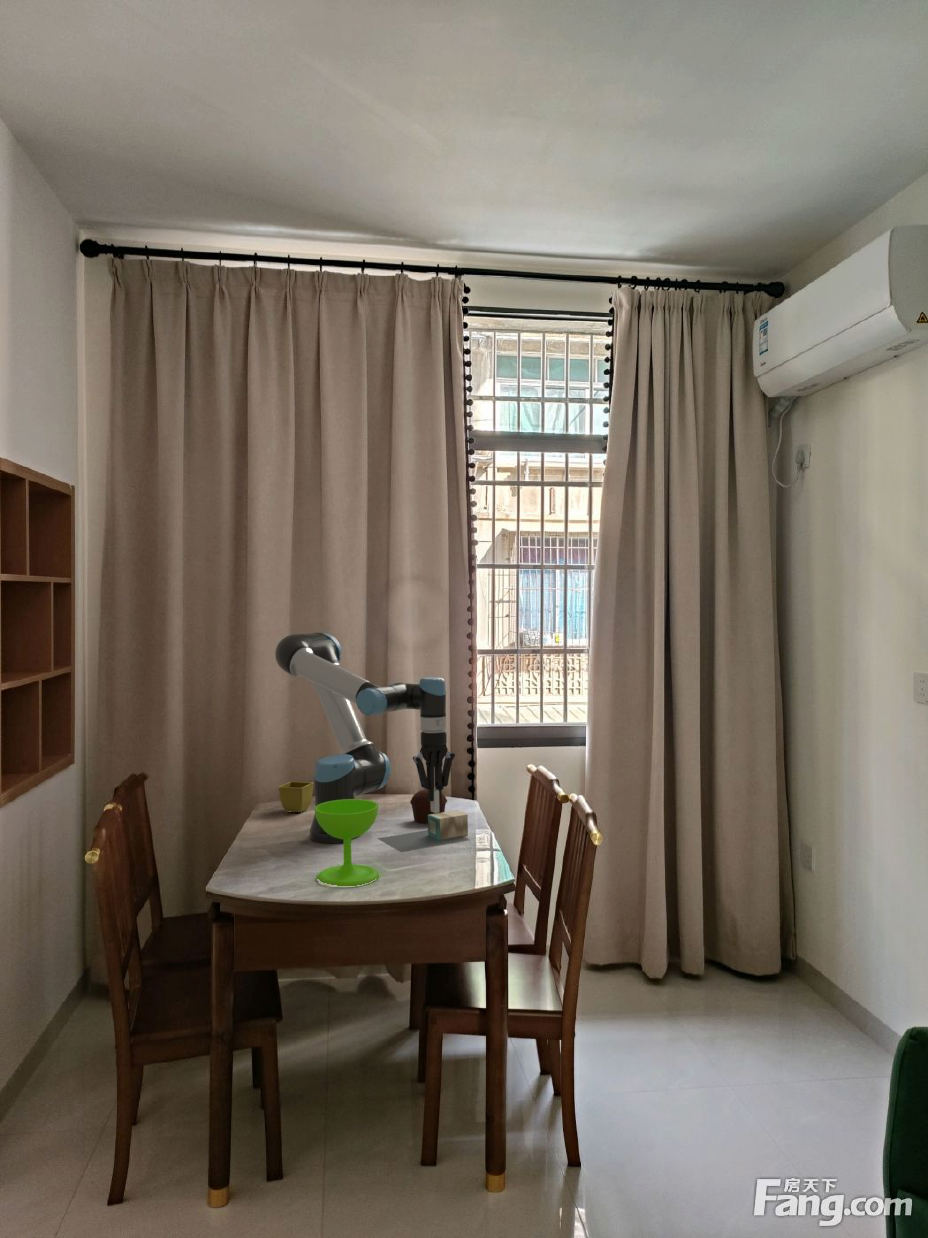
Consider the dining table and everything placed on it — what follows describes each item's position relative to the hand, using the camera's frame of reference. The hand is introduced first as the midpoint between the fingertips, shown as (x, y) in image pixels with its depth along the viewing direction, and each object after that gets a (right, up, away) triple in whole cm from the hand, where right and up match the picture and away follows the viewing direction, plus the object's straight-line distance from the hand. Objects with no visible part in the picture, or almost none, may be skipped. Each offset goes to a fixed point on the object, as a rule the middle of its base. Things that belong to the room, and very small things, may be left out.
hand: (435, 811), depth 250 cm
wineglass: (-21, -9, -33) cm, 40 cm away
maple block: (-1, -5, 0) cm, 5 cm away
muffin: (-3, -8, +19) cm, 21 cm away
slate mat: (-3, -8, -2) cm, 9 cm away
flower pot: (-47, -8, +36) cm, 60 cm away
